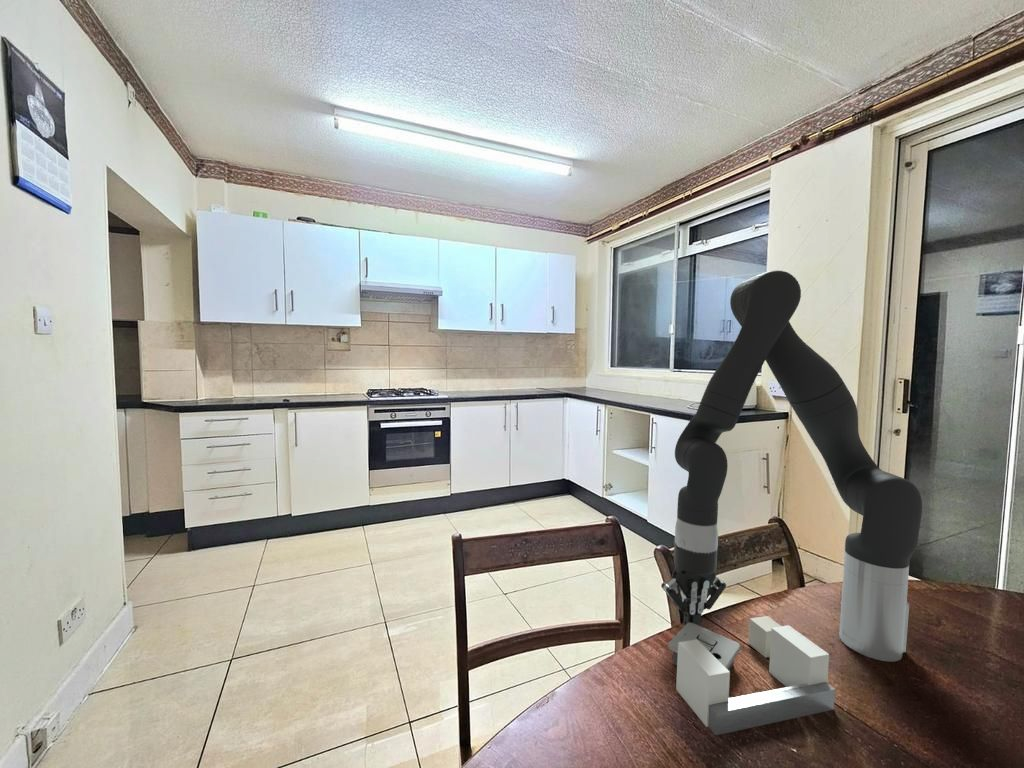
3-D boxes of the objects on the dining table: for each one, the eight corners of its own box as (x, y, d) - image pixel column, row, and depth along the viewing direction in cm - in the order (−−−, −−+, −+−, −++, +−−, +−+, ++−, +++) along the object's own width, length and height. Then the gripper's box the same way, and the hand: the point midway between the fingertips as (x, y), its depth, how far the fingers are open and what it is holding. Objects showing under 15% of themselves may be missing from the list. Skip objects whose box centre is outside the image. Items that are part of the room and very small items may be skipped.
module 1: (694, 684, 72) (696, 638, 71) (727, 723, 64) (729, 671, 64) (675, 688, 71) (677, 641, 71) (706, 727, 64) (709, 675, 63)
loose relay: (766, 641, 83) (767, 615, 83) (783, 655, 80) (785, 628, 79) (748, 643, 83) (749, 618, 82) (765, 658, 79) (766, 631, 78)
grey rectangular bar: (822, 701, 69) (823, 679, 69) (833, 710, 67) (835, 689, 67) (706, 725, 64) (707, 702, 64) (715, 736, 62) (716, 713, 62)
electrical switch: (724, 672, 70) (669, 635, 76) (716, 699, 71) (663, 660, 77) (743, 645, 76) (691, 613, 82) (735, 670, 77) (685, 636, 83)
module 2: (784, 668, 76) (787, 624, 75) (825, 703, 68) (829, 654, 68) (767, 671, 75) (770, 626, 75) (807, 706, 68) (810, 657, 67)
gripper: (713, 531, 88) (709, 614, 89) (653, 536, 85) (650, 621, 86) (740, 548, 81) (735, 637, 82) (676, 554, 78) (672, 646, 79)
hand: (691, 629), depth 84 cm, fingers closed
